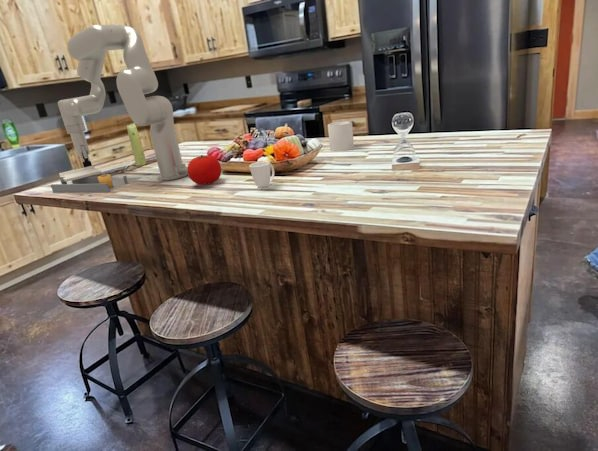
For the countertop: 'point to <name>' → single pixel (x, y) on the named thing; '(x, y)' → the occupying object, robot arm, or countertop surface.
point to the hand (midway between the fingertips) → (89, 170)
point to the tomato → (204, 169)
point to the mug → (341, 136)
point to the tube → (136, 145)
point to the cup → (262, 174)
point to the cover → (78, 174)
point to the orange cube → (105, 180)
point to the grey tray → (91, 185)
